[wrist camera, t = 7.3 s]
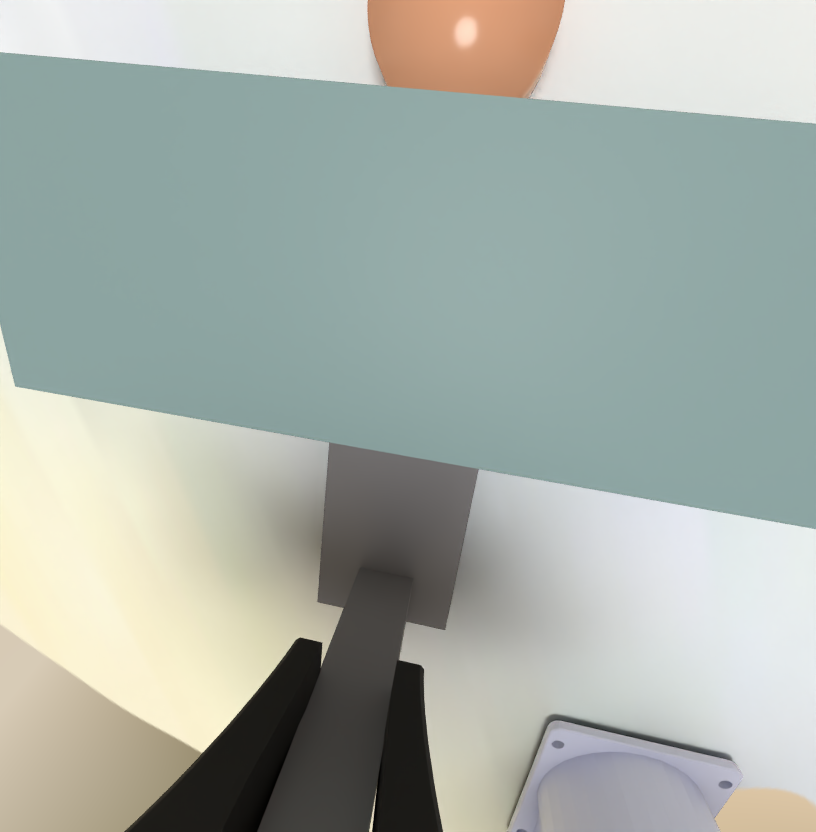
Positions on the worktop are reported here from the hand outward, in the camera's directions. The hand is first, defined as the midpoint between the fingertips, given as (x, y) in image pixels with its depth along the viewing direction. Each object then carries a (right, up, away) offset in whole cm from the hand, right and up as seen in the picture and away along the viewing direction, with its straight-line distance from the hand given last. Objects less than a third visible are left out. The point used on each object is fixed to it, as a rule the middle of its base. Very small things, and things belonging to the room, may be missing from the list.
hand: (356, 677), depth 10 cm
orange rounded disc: (+3, +17, 0) cm, 17 cm away
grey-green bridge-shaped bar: (+2, +11, +2) cm, 11 cm away
